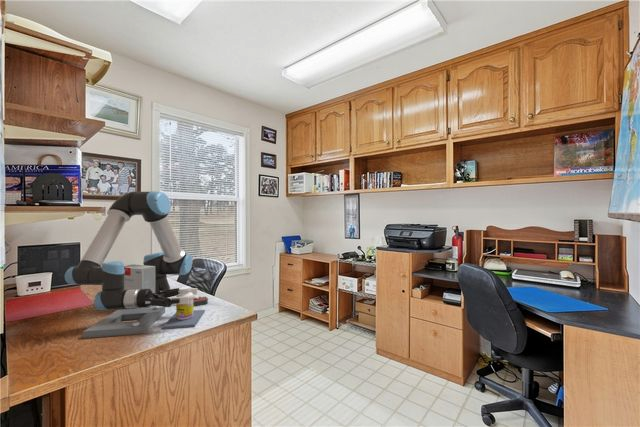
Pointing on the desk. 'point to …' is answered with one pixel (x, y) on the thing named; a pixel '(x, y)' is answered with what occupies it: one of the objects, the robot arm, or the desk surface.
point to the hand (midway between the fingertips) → (193, 295)
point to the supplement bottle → (185, 309)
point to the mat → (184, 321)
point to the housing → (115, 327)
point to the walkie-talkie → (199, 301)
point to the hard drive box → (139, 278)
